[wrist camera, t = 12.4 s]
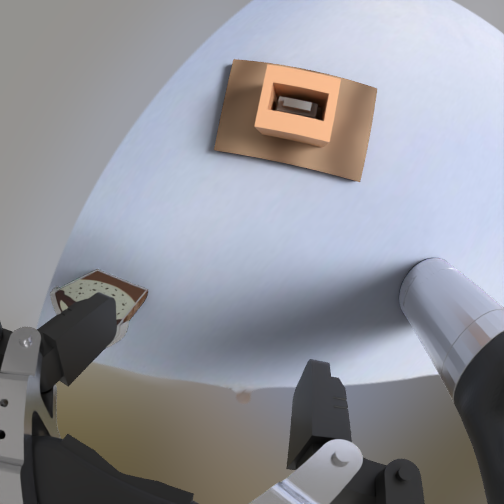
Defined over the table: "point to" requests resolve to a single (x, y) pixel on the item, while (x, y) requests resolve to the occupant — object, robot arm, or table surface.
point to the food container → (100, 281)
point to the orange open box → (300, 88)
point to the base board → (288, 151)
